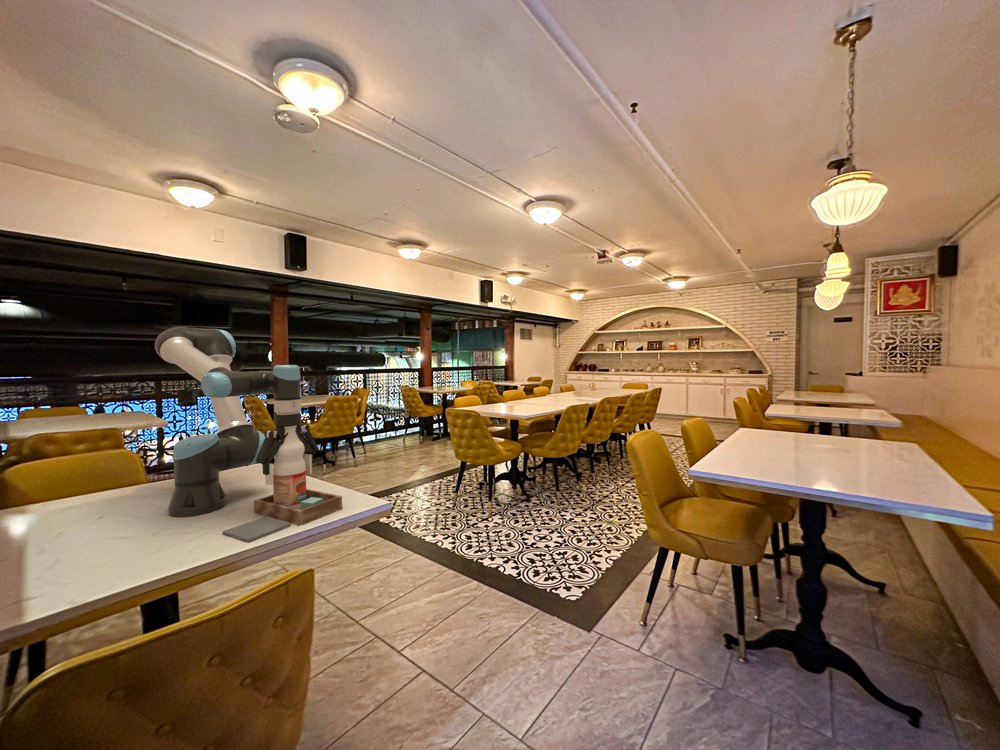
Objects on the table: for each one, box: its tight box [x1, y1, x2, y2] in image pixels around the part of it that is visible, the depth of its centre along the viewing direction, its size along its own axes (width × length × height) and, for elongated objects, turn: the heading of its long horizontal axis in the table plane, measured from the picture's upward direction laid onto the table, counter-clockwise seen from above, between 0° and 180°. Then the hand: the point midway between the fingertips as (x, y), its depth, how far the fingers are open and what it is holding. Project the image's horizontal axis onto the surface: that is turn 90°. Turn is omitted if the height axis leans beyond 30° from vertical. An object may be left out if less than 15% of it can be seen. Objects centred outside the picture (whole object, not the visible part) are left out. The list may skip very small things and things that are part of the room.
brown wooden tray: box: [253, 488, 343, 526], centre depth 128 cm, size 22×15×4 cm
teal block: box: [301, 497, 323, 510], centre depth 125 cm, size 4×4×4 cm
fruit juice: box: [272, 426, 307, 510], centre depth 130 cm, size 9×9×28 cm
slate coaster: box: [222, 516, 292, 543], centre depth 113 cm, size 12×12×1 cm
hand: (289, 479), depth 130 cm, fingers open, 13 cm apart
